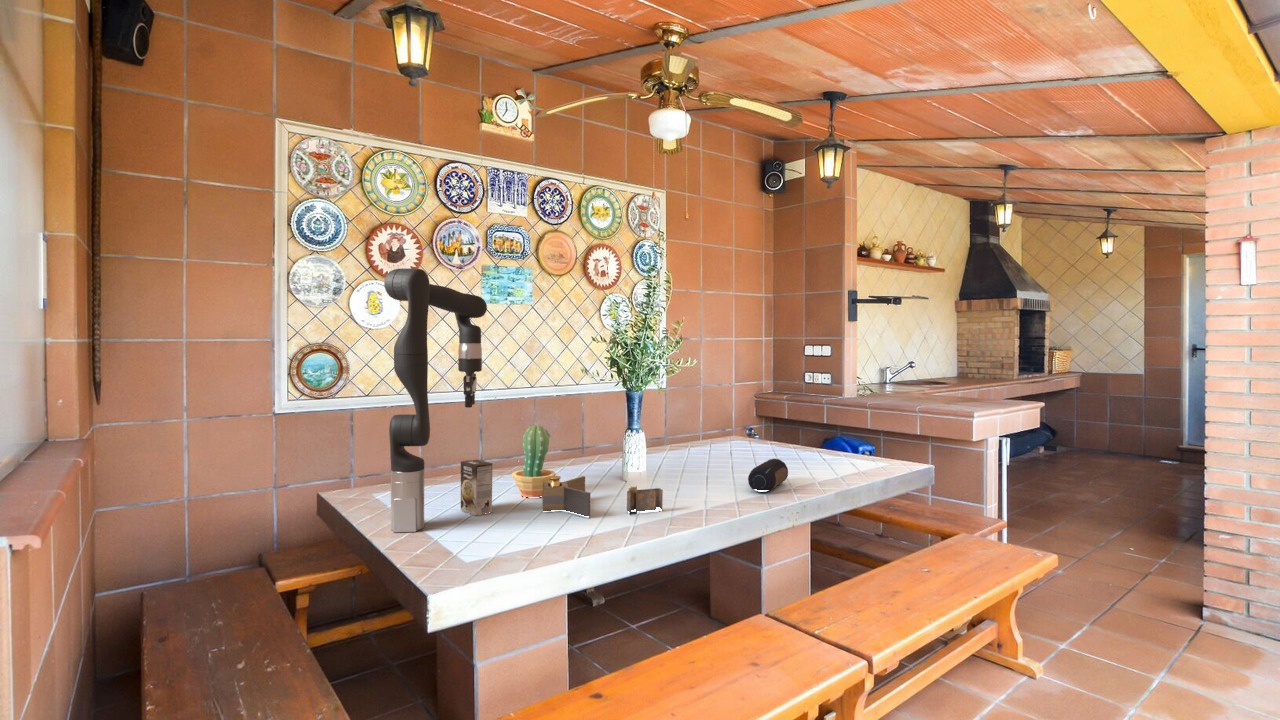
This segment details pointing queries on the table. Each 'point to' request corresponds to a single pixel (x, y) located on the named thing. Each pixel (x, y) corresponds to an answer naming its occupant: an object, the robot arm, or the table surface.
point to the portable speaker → (768, 475)
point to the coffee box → (476, 487)
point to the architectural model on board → (644, 499)
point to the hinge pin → (554, 480)
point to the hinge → (567, 496)
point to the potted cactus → (534, 462)
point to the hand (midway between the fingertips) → (469, 405)
